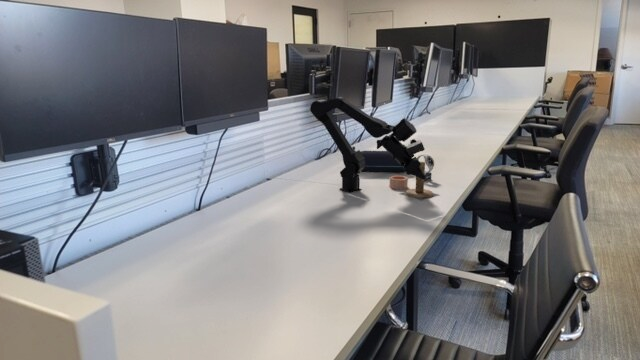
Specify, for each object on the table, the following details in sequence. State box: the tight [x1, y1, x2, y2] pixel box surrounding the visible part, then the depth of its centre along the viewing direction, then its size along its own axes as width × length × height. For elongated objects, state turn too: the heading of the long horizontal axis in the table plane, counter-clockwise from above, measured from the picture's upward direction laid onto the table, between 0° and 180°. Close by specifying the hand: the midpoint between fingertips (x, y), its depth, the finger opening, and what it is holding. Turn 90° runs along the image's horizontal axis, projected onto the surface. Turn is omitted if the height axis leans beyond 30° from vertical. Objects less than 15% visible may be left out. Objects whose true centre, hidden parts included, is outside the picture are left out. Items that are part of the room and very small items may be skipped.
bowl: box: [388, 175, 409, 190], centre depth 182 cm, size 7×7×4 cm
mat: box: [398, 191, 440, 202], centre depth 172 cm, size 11×11×1 cm
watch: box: [416, 153, 435, 182], centre depth 192 cm, size 6×8×11 cm
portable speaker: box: [360, 150, 406, 174], centre depth 206 cm, size 25×10×10 cm, turn 85°
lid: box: [405, 161, 434, 199], centre depth 170 cm, size 10×10×12 cm
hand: (423, 177), depth 170 cm, fingers closed on lid, 3 cm apart
